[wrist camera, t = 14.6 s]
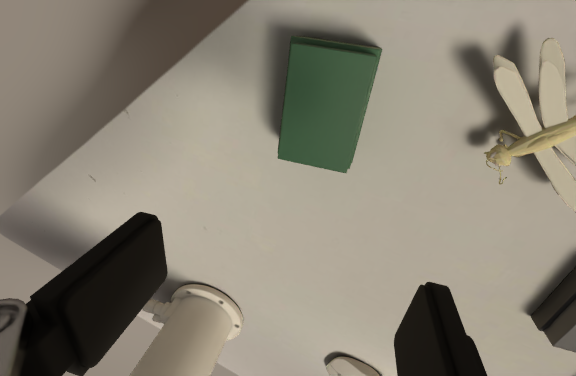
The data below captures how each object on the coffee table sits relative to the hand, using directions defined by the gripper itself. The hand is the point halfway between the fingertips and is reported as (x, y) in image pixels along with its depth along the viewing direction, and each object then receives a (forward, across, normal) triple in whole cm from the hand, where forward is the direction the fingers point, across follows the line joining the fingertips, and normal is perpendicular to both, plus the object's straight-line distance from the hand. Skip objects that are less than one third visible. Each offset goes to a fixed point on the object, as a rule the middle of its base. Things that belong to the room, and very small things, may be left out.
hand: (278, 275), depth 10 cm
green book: (+17, +1, -2) cm, 17 cm away
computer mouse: (+21, -12, +39) cm, 46 cm away
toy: (+20, -16, -3) cm, 26 cm away
